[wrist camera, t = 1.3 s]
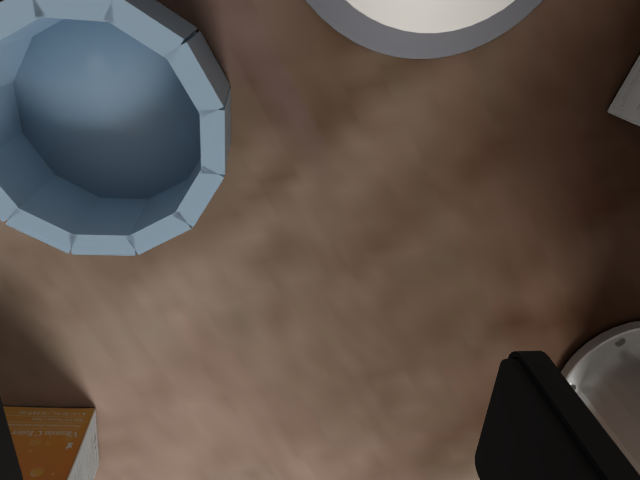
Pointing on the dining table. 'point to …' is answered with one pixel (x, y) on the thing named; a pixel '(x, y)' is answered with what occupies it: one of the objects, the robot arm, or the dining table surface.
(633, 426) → the robot arm
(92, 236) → the bowl
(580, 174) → the dining table surface
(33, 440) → the small box
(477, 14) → the lid
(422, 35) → the mat
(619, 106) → the supplement box
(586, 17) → the dining table surface
